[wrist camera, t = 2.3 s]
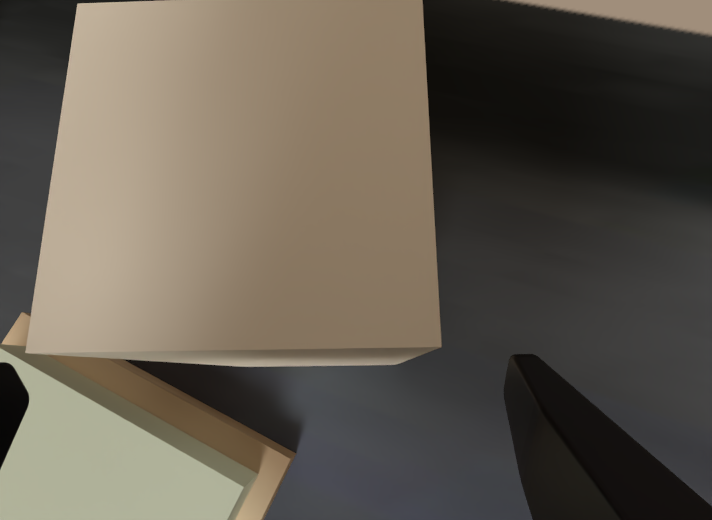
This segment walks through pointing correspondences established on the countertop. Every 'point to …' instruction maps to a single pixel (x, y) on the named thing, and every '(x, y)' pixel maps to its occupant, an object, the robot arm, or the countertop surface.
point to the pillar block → (242, 186)
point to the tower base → (185, 419)
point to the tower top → (107, 456)
